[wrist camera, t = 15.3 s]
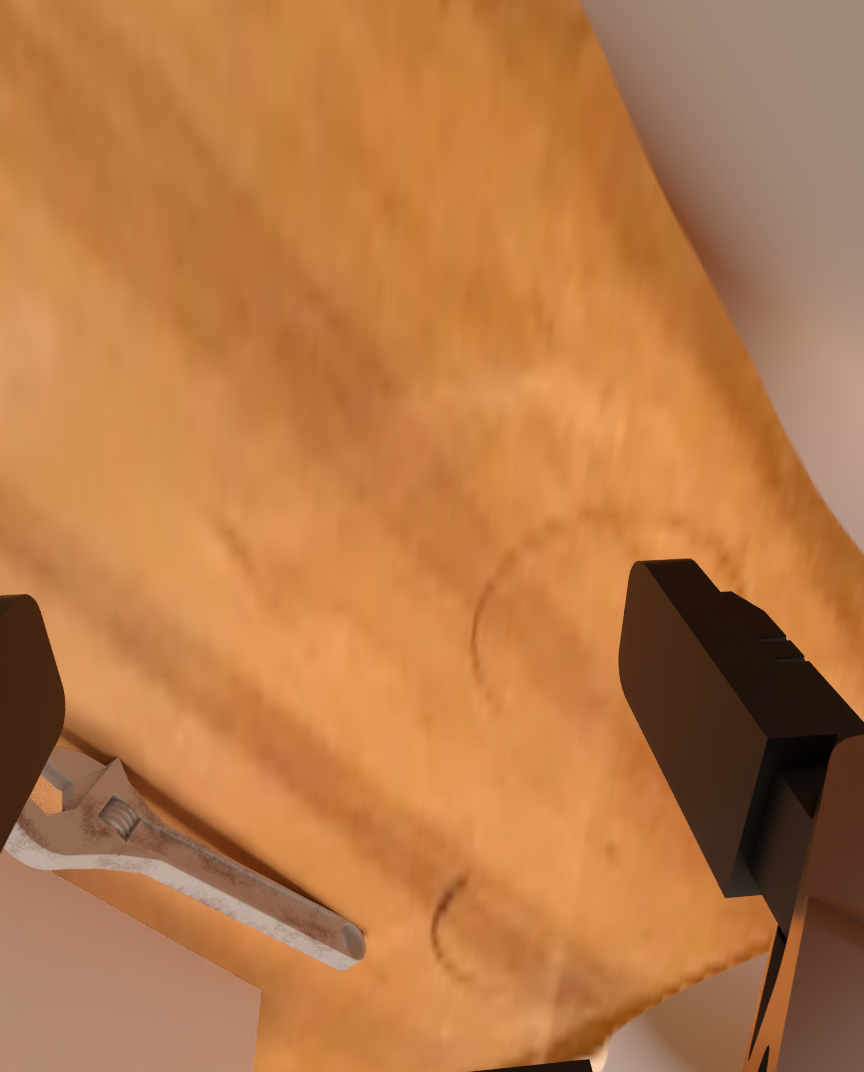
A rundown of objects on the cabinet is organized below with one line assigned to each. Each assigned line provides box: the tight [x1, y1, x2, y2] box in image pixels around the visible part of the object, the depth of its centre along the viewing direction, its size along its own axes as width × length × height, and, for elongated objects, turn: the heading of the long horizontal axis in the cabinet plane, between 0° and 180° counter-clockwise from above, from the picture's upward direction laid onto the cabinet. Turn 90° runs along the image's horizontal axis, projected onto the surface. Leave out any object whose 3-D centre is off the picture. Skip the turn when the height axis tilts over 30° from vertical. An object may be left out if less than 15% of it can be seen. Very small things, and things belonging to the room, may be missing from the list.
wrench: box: [4, 746, 366, 971], centre depth 48 cm, size 8×2×30 cm
